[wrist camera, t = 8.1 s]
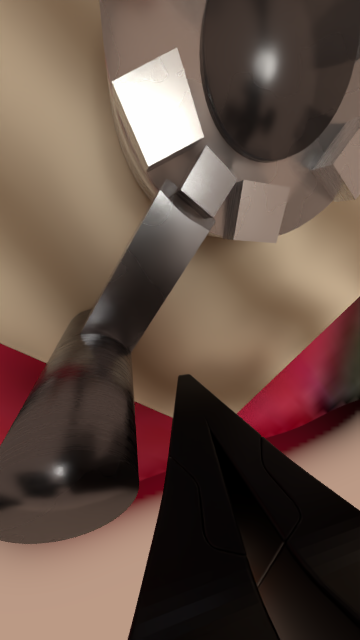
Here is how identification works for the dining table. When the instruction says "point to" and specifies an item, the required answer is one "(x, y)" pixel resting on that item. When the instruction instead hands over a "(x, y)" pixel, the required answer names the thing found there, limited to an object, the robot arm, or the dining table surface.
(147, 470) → the dining table surface
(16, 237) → the birch board
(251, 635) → the robot arm
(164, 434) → the dining table surface
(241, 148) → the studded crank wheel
